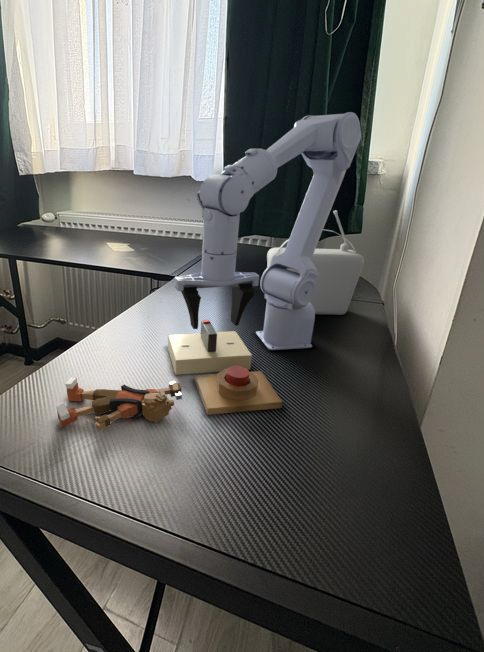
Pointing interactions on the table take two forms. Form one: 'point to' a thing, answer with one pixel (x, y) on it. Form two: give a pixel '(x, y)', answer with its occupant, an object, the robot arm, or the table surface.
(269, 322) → the robot arm
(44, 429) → the table surface
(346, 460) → the table surface
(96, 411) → the character figurine
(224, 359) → the panel
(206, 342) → the dark grey block
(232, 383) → the button
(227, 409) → the button block
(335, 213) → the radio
